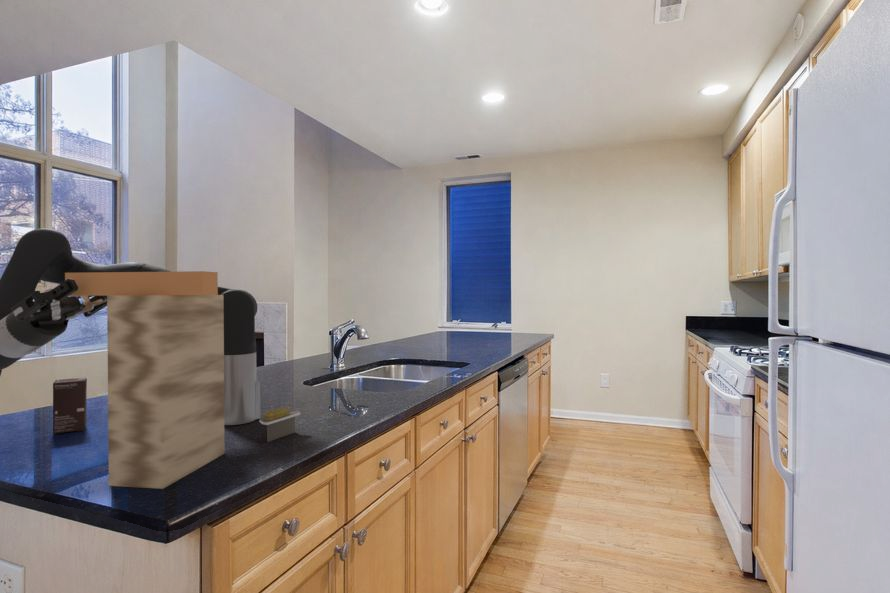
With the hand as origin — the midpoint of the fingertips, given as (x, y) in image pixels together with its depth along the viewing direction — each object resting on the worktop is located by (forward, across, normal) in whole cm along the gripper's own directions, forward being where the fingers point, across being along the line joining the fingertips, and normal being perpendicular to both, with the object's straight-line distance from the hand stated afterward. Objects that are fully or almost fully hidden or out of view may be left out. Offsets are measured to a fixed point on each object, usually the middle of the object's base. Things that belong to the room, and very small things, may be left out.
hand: (96, 283), depth 82 cm
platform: (+1, +25, +41) cm, 48 cm away
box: (-43, +23, +14) cm, 51 cm away
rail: (+7, 0, +6) cm, 9 cm away
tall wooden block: (-8, +4, +35) cm, 36 cm away
